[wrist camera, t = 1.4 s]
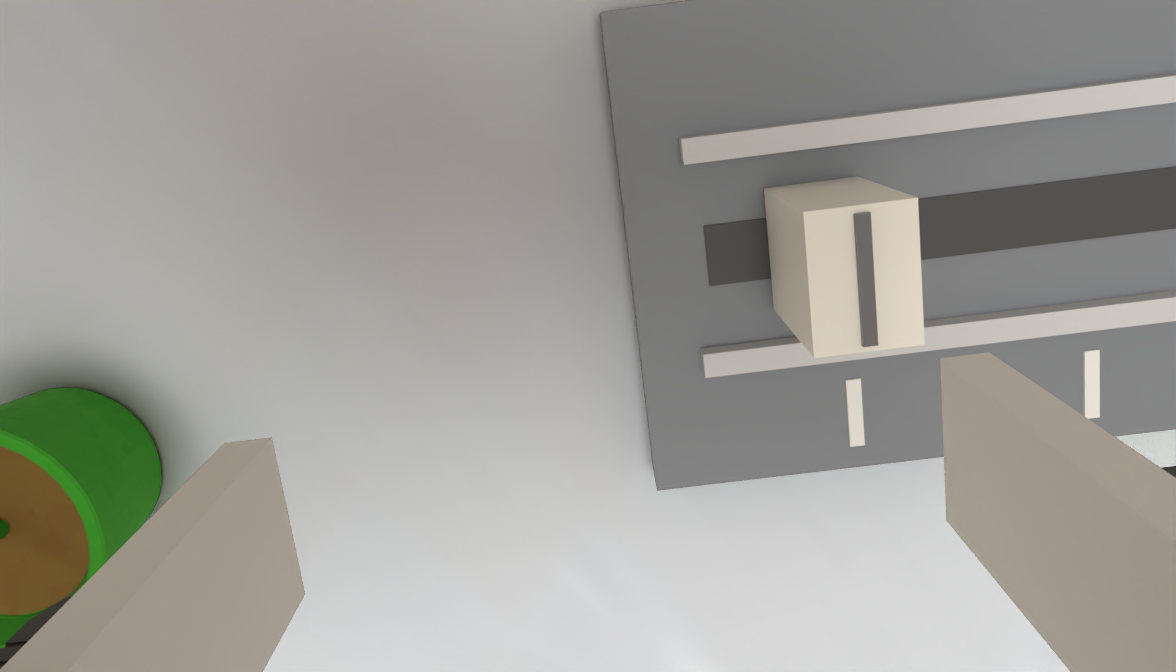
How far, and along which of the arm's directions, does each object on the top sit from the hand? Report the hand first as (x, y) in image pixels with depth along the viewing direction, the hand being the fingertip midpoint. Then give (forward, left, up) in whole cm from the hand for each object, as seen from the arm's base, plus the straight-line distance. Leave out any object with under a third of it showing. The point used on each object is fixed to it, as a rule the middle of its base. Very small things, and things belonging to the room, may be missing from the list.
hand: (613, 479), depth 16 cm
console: (0, +16, -20) cm, 26 cm away
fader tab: (0, +7, -18) cm, 19 cm away
